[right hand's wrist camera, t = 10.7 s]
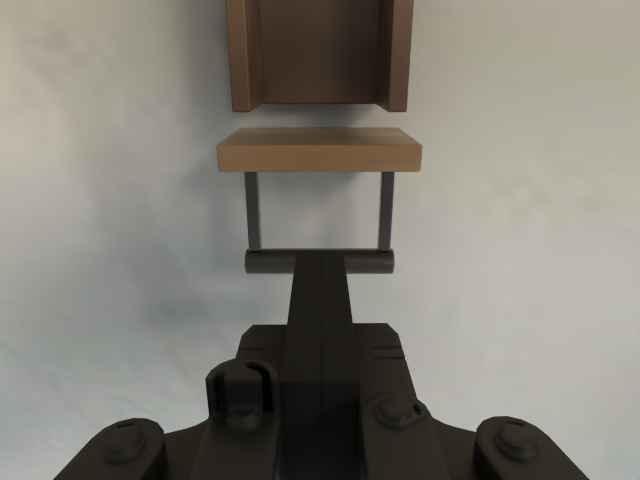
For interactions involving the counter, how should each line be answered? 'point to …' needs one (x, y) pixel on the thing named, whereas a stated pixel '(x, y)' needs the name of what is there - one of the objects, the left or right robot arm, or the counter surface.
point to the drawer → (319, 88)
